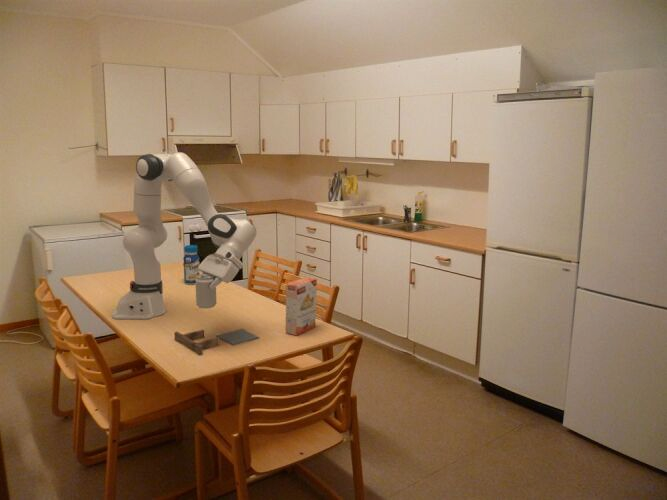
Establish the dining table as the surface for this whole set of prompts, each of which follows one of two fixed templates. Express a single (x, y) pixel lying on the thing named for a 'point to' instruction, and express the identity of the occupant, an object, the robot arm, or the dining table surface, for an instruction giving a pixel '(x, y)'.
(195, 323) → the dining table surface
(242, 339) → the slate mat
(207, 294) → the can
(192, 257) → the beverage bottle
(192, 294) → the dining table surface
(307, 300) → the cracker box
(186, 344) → the walnut cradle
